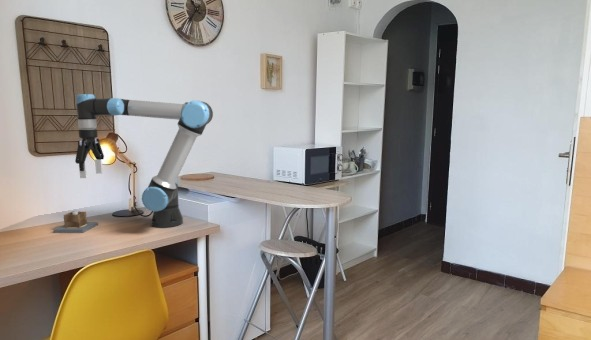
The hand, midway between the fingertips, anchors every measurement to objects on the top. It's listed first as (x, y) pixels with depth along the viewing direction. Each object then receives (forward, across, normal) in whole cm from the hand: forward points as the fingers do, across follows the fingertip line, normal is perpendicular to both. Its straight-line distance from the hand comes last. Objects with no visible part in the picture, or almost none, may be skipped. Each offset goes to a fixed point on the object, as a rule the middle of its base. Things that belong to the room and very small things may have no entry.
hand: (91, 175), depth 197 cm
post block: (+27, -6, -13) cm, 30 cm away
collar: (+25, -6, -13) cm, 29 cm away
